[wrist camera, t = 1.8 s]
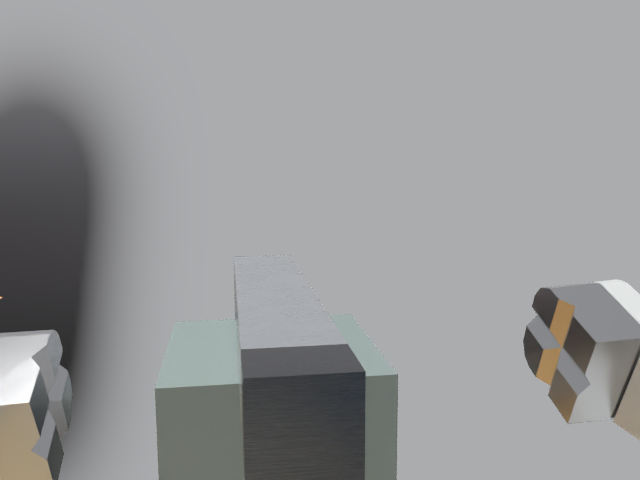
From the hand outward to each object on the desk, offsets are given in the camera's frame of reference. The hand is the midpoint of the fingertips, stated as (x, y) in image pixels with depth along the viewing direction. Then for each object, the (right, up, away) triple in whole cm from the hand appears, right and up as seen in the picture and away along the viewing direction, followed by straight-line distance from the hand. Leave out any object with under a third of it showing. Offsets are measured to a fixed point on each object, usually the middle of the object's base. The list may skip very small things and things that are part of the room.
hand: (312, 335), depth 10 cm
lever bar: (-2, -5, +22) cm, 22 cm away
